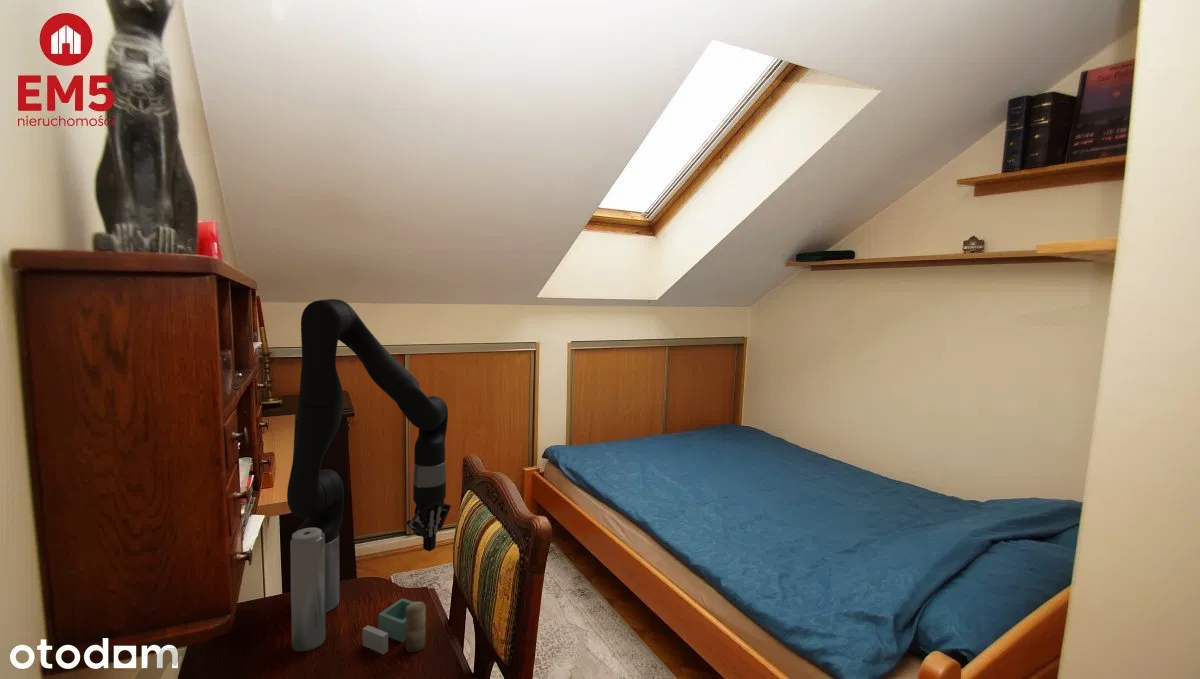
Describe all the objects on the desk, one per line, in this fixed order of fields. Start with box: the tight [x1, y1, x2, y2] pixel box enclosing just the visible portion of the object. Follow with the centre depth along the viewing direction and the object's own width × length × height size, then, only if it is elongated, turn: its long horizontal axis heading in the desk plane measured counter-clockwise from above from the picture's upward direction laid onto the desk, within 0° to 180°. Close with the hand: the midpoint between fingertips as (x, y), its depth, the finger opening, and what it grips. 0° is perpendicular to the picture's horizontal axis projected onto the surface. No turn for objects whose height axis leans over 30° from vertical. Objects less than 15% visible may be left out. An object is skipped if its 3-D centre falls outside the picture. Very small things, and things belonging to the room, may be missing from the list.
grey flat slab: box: [362, 624, 389, 655], centre depth 112 cm, size 6×1×4 cm, turn 66°
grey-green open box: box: [377, 597, 427, 644], centre depth 119 cm, size 7×7×4 cm
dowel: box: [405, 601, 427, 653], centre depth 113 cm, size 4×4×9 cm
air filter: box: [289, 528, 326, 653], centre depth 113 cm, size 6×6×25 cm
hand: (429, 549), depth 126 cm, fingers closed
